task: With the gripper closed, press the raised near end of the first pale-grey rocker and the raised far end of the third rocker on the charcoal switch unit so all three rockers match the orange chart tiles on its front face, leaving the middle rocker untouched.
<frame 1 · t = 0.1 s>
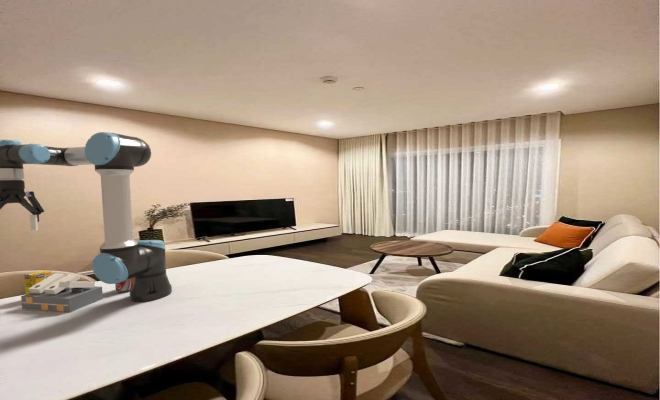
hand: (15, 233, 120), 28 cm above the table, fingers open, 13 cm apart
switch unit: (64, 303, 118), on the table
rocker 3: (48, 282, 119), point 8 cm above the table, hinge at -18.0°
rocker 2: (62, 283, 117), point 8 cm above the table, hinge at -18.0°
beverage can: (126, 290, 132), on the table
supplement box: (39, 299, 124), on the table
rocker 1: (77, 284, 116), point 8 cm above the table, hinge at 18.0°
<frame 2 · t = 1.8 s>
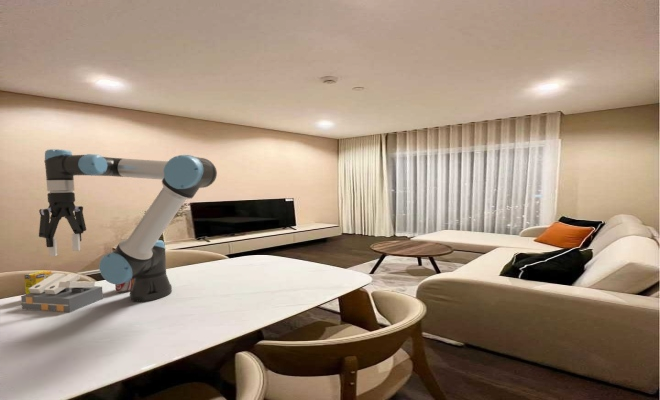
hand: (65, 253, 112), 21 cm above the table, fingers open, 8 cm apart
nothing on the table moved.
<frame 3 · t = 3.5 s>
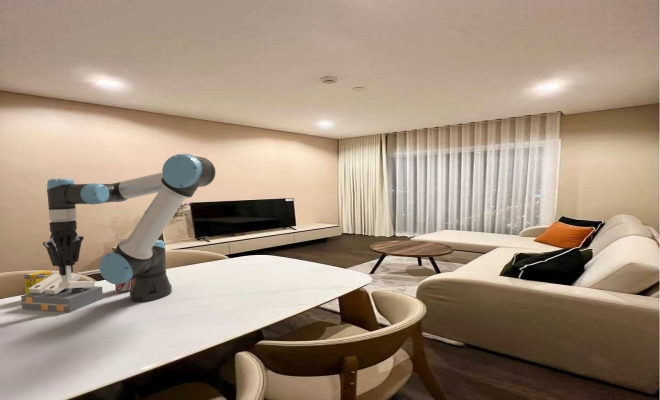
hand: (67, 282, 112), 10 cm above the table, fingers closed
rocker 1: (77, 284, 116), point 8 cm above the table, hinge at 15.6°, touching gripper
everything else where it was.
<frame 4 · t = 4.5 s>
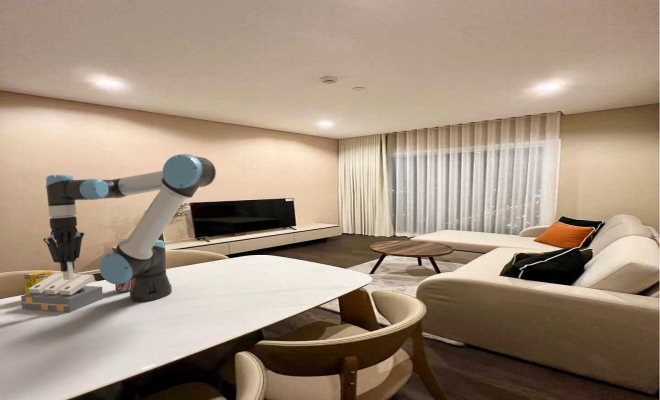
hand: (68, 279, 113), 11 cm above the table, fingers closed
rocker 1: (77, 284, 116), point 8 cm above the table, hinge at -17.4°
everything else where it was.
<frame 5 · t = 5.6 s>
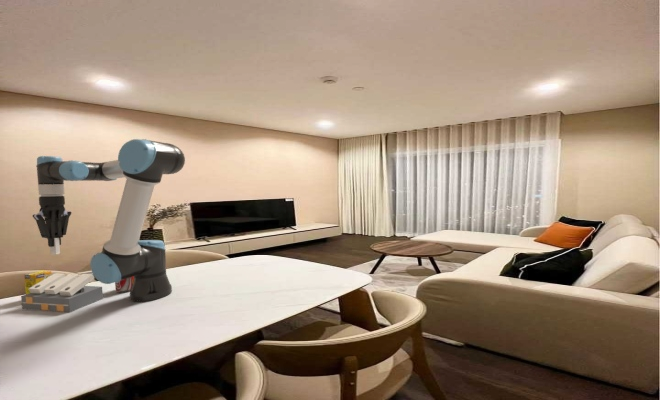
hand: (55, 254, 121), 19 cm above the table, fingers closed
rocker 1: (77, 284, 116), point 8 cm above the table, hinge at -22.5°
everything else where it was.
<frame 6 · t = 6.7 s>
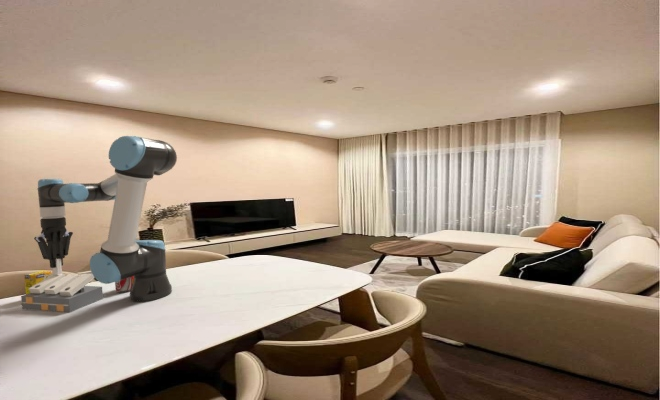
hand: (57, 274, 122), 10 cm above the table, fingers closed
rocker 3: (48, 282, 119), point 8 cm above the table, hinge at -18.0°, touching gripper
rocker 1: (77, 284, 116), point 8 cm above the table, hinge at -23.4°
everything else where it was.
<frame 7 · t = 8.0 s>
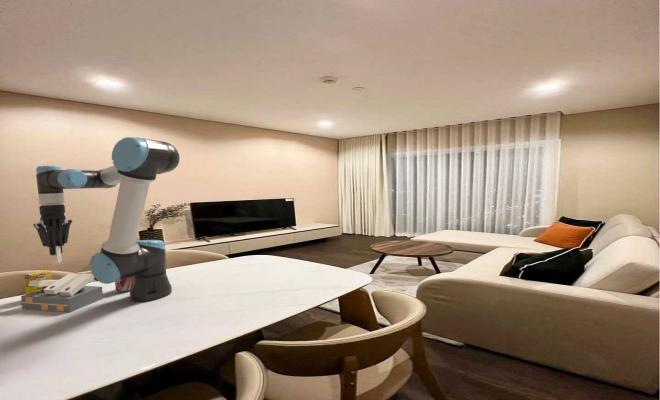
hand: (57, 262, 122), 15 cm above the table, fingers closed
rocker 3: (48, 282, 119), point 8 cm above the table, hinge at 15.8°
everything else where it was.
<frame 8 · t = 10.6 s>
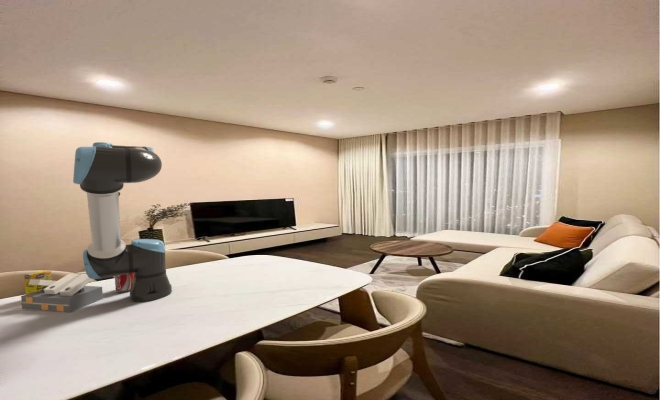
hand: (108, 228, 137), 26 cm above the table, fingers closed
rocker 3: (48, 282, 119), point 8 cm above the table, hinge at 22.5°
everything else where it was.
at the end: rocker 1 at -24° (first picture: +18°); rocker 2 at -18° (first picture: -18°); rocker 3 at +22° (first picture: -18°) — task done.
